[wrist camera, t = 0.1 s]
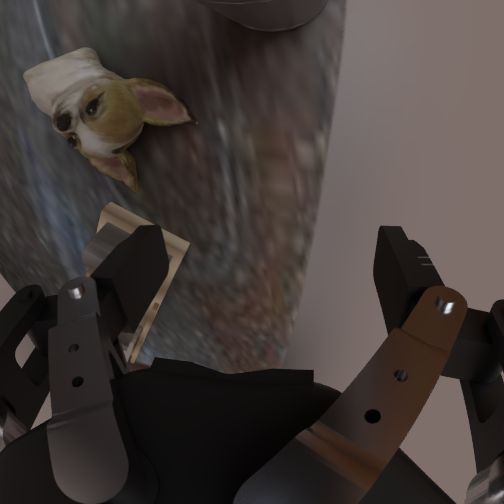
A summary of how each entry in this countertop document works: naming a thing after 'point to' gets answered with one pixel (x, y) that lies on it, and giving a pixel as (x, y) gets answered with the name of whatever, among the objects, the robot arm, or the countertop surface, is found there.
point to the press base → (169, 243)
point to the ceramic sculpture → (102, 109)
